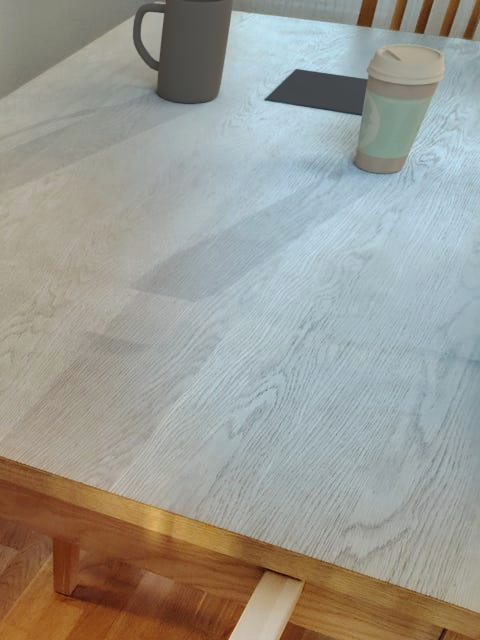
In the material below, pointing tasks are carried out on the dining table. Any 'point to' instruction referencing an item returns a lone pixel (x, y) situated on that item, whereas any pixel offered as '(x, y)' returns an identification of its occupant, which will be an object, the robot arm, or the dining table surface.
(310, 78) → the placemat
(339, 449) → the dining table surface
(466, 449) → the dining table surface
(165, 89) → the mug
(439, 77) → the coffee cup
